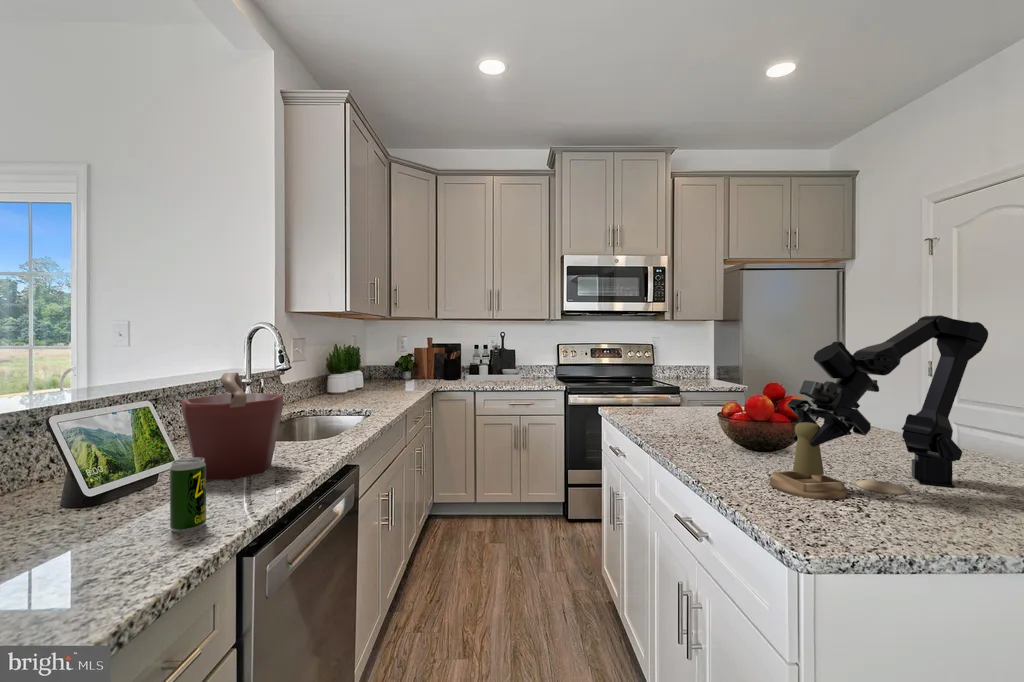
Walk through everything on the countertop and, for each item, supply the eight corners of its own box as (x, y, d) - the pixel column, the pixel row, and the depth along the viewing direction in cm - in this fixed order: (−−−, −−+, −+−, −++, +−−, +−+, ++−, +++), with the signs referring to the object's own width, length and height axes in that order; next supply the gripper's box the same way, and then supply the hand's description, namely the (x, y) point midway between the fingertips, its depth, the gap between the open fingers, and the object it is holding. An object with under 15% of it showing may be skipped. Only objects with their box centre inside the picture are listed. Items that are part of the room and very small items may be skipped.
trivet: (811, 477, 118) (811, 466, 118) (865, 497, 103) (865, 485, 103) (755, 479, 116) (755, 469, 116) (801, 501, 101) (801, 488, 101)
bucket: (265, 482, 113) (265, 376, 113) (158, 489, 108) (157, 377, 108) (288, 457, 137) (288, 369, 136) (201, 461, 132) (201, 370, 131)
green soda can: (164, 535, 83) (164, 465, 83) (178, 523, 88) (178, 457, 88) (199, 532, 84) (199, 463, 84) (211, 520, 90) (210, 456, 90)
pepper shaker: (822, 476, 105) (821, 426, 105) (790, 472, 109) (790, 423, 109) (825, 470, 110) (825, 422, 110) (795, 466, 114) (795, 419, 114)
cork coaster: (900, 485, 112) (900, 483, 112) (911, 496, 104) (911, 494, 104) (853, 480, 116) (853, 477, 116) (860, 490, 108) (860, 488, 108)
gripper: (794, 365, 119) (753, 411, 118) (858, 371, 100) (810, 426, 99) (823, 396, 120) (782, 442, 119) (891, 407, 102) (845, 462, 100)
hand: (802, 442), depth 109 cm, fingers closed on pepper shaker, 5 cm apart
